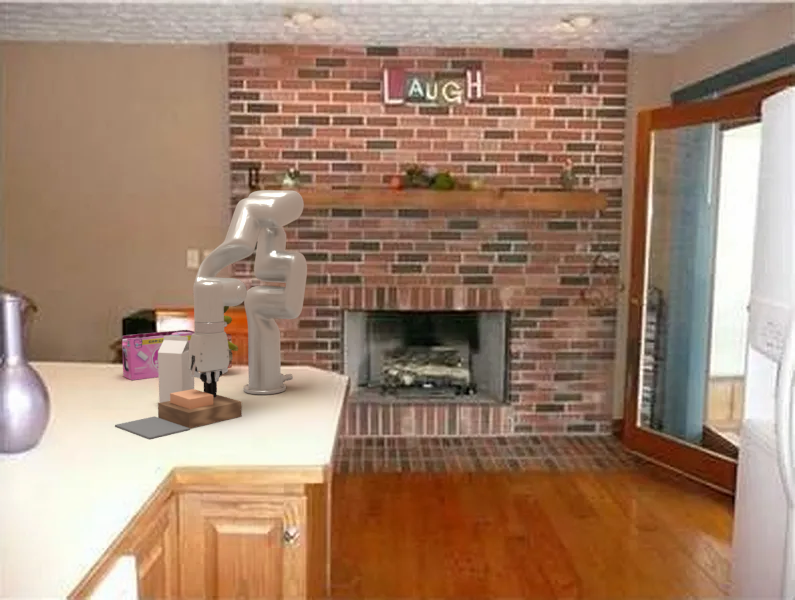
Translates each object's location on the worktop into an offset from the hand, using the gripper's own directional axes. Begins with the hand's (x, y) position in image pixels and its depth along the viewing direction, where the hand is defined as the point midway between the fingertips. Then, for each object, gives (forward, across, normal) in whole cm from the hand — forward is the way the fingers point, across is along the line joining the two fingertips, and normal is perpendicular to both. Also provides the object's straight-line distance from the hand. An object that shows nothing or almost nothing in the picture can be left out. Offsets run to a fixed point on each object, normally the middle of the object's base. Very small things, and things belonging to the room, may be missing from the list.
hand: (210, 396), depth 202 cm
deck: (+5, +3, 0) cm, 6 cm away
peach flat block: (+1, +6, 0) cm, 6 cm away
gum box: (+5, -19, -55) cm, 58 cm away
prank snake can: (+5, -34, -41) cm, 53 cm away
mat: (+5, +17, 0) cm, 18 cm away
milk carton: (+5, -1, -17) cm, 18 cm away
